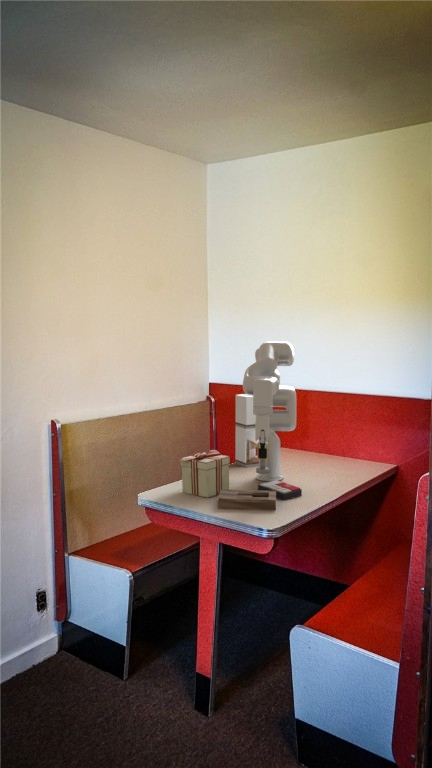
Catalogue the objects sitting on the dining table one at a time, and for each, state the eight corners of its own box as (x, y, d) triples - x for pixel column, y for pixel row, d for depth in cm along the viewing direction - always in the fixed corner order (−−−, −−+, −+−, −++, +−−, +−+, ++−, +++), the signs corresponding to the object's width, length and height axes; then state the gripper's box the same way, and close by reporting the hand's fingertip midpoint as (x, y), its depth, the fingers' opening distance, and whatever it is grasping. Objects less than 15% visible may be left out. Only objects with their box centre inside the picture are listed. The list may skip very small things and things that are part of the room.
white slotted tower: (246, 467, 304) (246, 396, 300) (235, 463, 313) (235, 394, 310) (265, 464, 309) (266, 395, 305) (254, 460, 318) (255, 393, 315)
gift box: (196, 484, 272) (196, 445, 271) (231, 490, 262) (231, 450, 260) (172, 492, 258) (172, 452, 257) (208, 500, 248) (208, 457, 246)
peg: (256, 470, 242) (256, 441, 241) (268, 470, 242) (269, 441, 241) (255, 473, 237) (256, 444, 236) (268, 473, 237) (269, 444, 236)
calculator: (283, 492, 247) (257, 483, 258) (283, 502, 247) (257, 493, 259) (302, 487, 254) (276, 478, 265) (301, 497, 255) (275, 488, 266)
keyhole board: (221, 499, 249) (221, 489, 249) (275, 500, 247) (275, 490, 246) (218, 508, 236) (218, 498, 236) (275, 510, 234) (275, 500, 234)
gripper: (253, 407, 246) (253, 452, 248) (252, 413, 229) (252, 461, 231) (272, 407, 245) (272, 452, 247) (272, 413, 229) (272, 462, 230)
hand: (262, 456), depth 239 cm, fingers closed on peg, 4 cm apart
